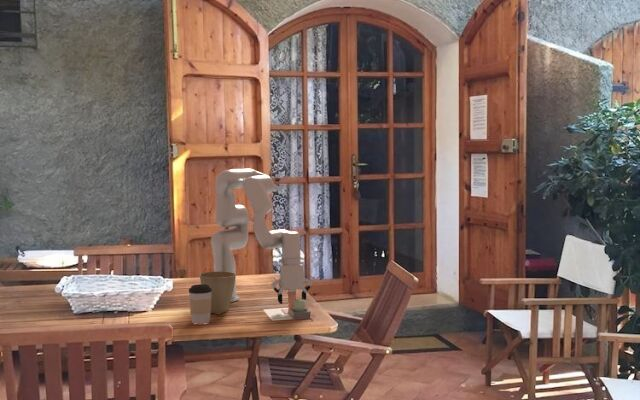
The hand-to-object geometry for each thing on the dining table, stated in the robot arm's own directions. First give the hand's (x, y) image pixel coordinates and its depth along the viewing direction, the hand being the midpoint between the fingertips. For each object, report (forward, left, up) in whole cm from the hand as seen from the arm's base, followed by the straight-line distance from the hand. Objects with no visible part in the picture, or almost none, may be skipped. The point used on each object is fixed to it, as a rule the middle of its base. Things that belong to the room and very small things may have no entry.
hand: (292, 302), depth 308 cm
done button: (+1, -10, -2) cm, 10 cm away
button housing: (+1, -9, -4) cm, 10 cm away
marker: (0, 0, -4) cm, 4 cm away
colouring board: (-3, -3, -4) cm, 6 cm away
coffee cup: (-38, -5, -4) cm, 39 cm away
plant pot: (-29, +11, -4) cm, 31 cm away
